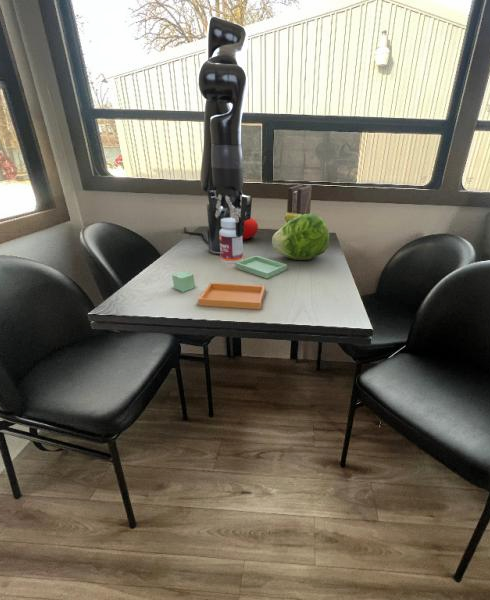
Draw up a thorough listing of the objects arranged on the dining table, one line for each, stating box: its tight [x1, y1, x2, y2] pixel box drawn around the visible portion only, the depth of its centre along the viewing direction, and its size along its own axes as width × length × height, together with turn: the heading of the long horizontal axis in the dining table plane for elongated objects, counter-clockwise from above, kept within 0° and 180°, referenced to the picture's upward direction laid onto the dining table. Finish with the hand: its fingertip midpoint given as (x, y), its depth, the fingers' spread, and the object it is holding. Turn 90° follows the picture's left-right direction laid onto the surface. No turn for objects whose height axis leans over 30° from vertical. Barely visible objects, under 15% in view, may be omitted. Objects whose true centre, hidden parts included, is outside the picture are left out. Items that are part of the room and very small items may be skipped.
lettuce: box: [271, 213, 330, 261], centre depth 120 cm, size 19×23×18 cm
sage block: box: [172, 270, 196, 293], centre depth 93 cm, size 4×4×4 cm
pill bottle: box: [219, 217, 244, 264], centre depth 81 cm, size 6×6×11 cm
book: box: [284, 184, 313, 223], centre depth 144 cm, size 22×8×25 cm, turn 160°
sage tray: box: [234, 255, 288, 279], centre depth 111 cm, size 16×12×2 cm
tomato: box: [232, 215, 259, 241], centre depth 144 cm, size 12×14×11 cm
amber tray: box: [197, 282, 266, 310], centre depth 88 cm, size 18×12×2 cm, turn 87°
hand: (230, 233), depth 80 cm, fingers closed on pill bottle, 6 cm apart
